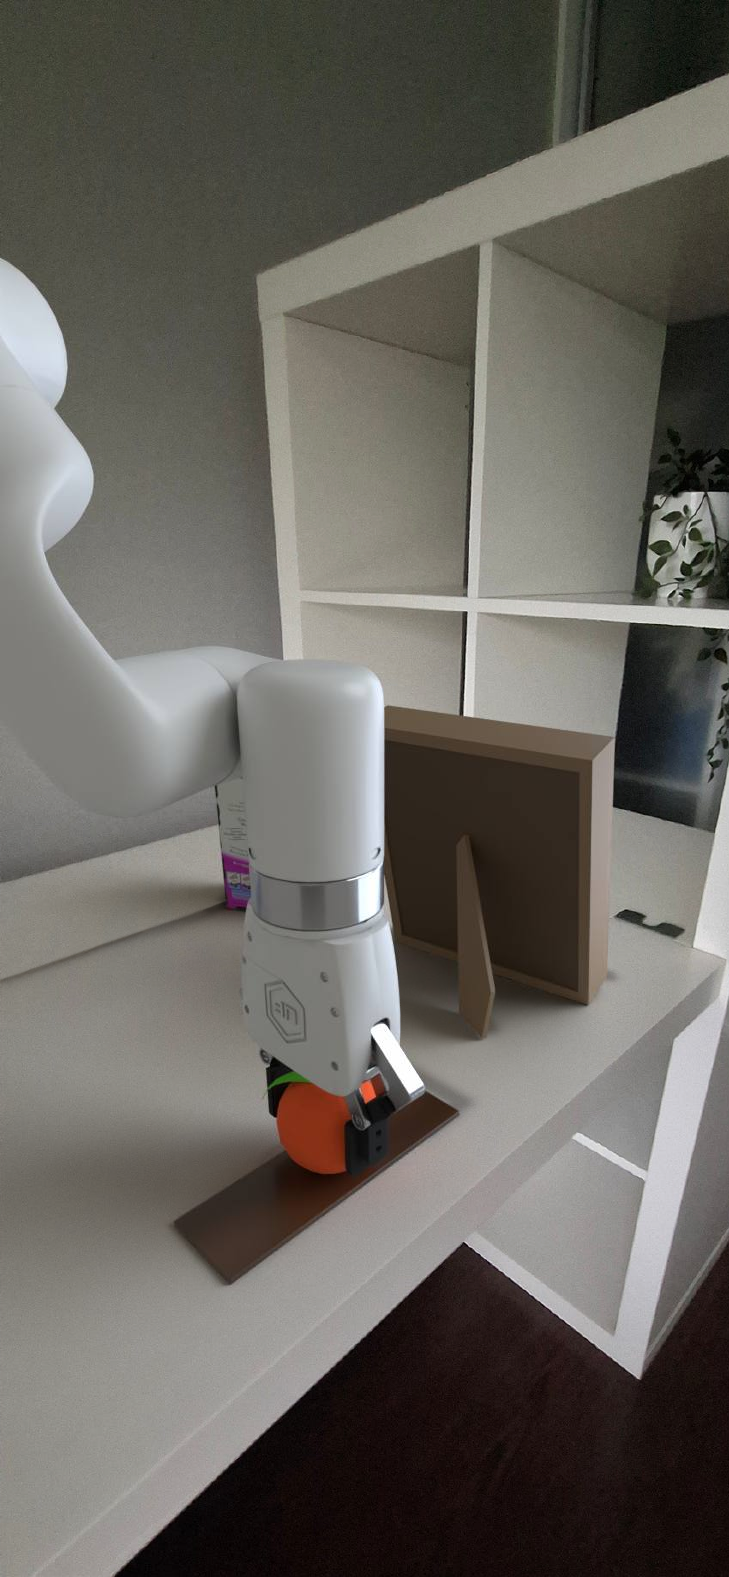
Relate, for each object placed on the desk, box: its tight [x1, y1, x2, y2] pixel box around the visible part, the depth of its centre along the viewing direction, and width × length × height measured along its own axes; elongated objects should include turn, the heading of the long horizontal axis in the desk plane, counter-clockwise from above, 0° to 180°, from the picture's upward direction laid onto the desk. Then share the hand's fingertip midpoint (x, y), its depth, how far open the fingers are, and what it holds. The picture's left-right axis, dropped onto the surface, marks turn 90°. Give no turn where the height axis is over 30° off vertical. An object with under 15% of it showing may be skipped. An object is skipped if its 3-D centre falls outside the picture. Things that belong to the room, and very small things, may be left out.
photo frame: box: [384, 704, 616, 1039], centre depth 69 cm, size 15×22×25 cm
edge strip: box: [173, 1090, 460, 1285], centre depth 52 cm, size 6×20×1 cm, turn 137°
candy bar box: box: [214, 777, 251, 912], centre depth 87 cm, size 11×5×16 cm, turn 73°
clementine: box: [261, 1071, 376, 1174], centre depth 51 cm, size 8×7×7 cm
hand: (327, 1132), depth 51 cm, fingers closed on clementine, 7 cm apart
